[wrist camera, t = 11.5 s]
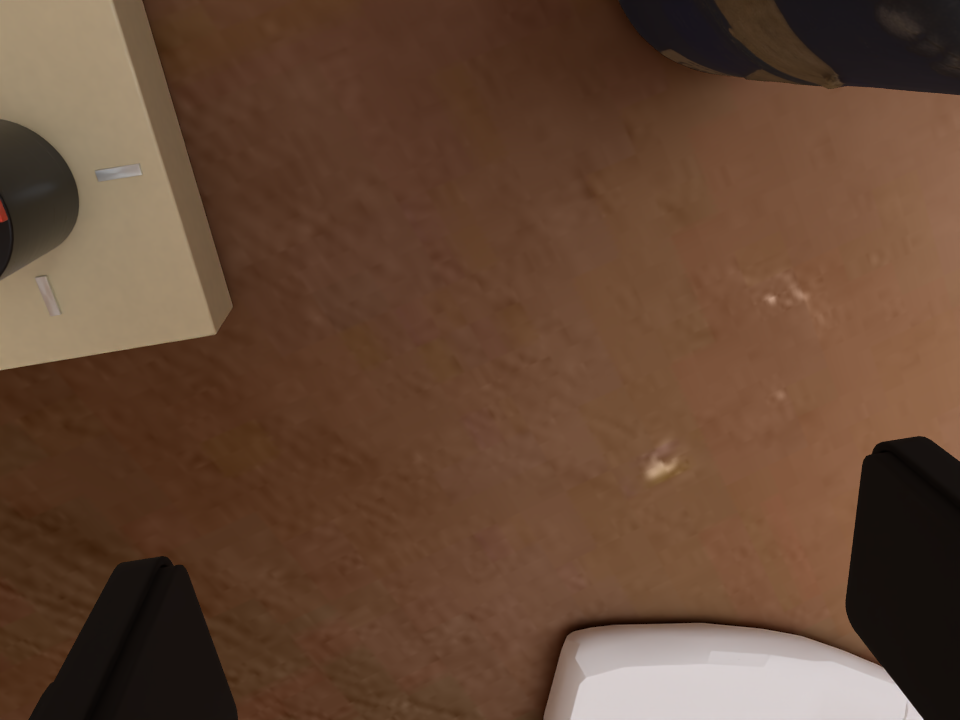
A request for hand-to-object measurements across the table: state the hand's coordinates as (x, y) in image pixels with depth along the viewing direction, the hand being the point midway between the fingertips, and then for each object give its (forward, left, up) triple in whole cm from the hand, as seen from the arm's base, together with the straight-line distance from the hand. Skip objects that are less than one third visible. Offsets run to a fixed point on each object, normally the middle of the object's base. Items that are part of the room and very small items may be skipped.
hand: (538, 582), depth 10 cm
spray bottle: (+29, +13, -20) cm, 37 cm away
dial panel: (-4, -14, -20) cm, 25 cm away
